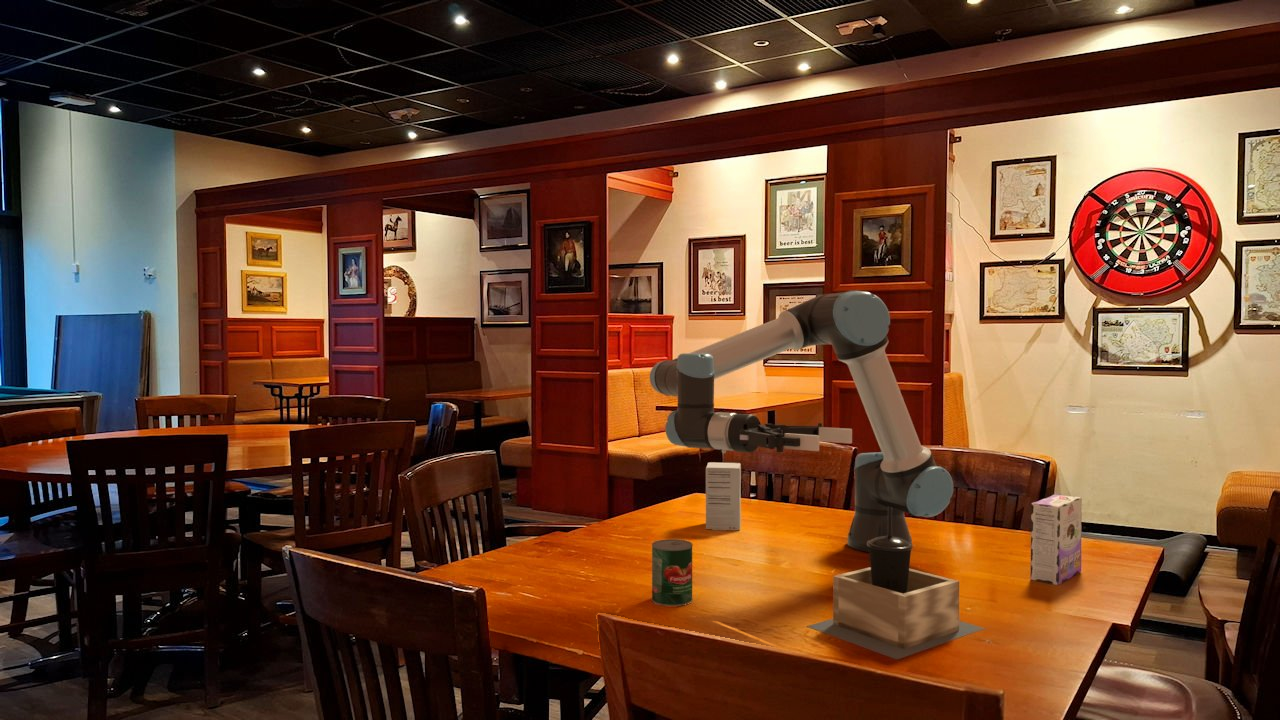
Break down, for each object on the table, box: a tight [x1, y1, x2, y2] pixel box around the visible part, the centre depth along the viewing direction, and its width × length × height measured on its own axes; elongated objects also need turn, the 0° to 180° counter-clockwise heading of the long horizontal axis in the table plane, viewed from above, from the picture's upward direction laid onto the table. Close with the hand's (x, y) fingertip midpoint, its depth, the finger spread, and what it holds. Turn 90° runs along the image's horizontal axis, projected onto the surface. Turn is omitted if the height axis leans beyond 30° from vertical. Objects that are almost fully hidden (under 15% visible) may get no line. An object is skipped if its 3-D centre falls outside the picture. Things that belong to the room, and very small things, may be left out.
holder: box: [832, 566, 960, 649], centre depth 147 cm, size 15×15×8 cm
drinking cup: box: [867, 507, 914, 594], centre depth 147 cm, size 8×8×20 cm
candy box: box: [1030, 494, 1082, 586], centre depth 180 cm, size 14×6×16 cm, turn 135°
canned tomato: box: [651, 538, 693, 607], centre depth 164 cm, size 8×8×11 cm
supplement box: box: [705, 461, 742, 531], centre depth 228 cm, size 10×9×17 cm
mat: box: [806, 618, 986, 660], centre depth 147 cm, size 24×19×1 cm
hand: (835, 439), depth 155 cm, fingers open, 13 cm apart
